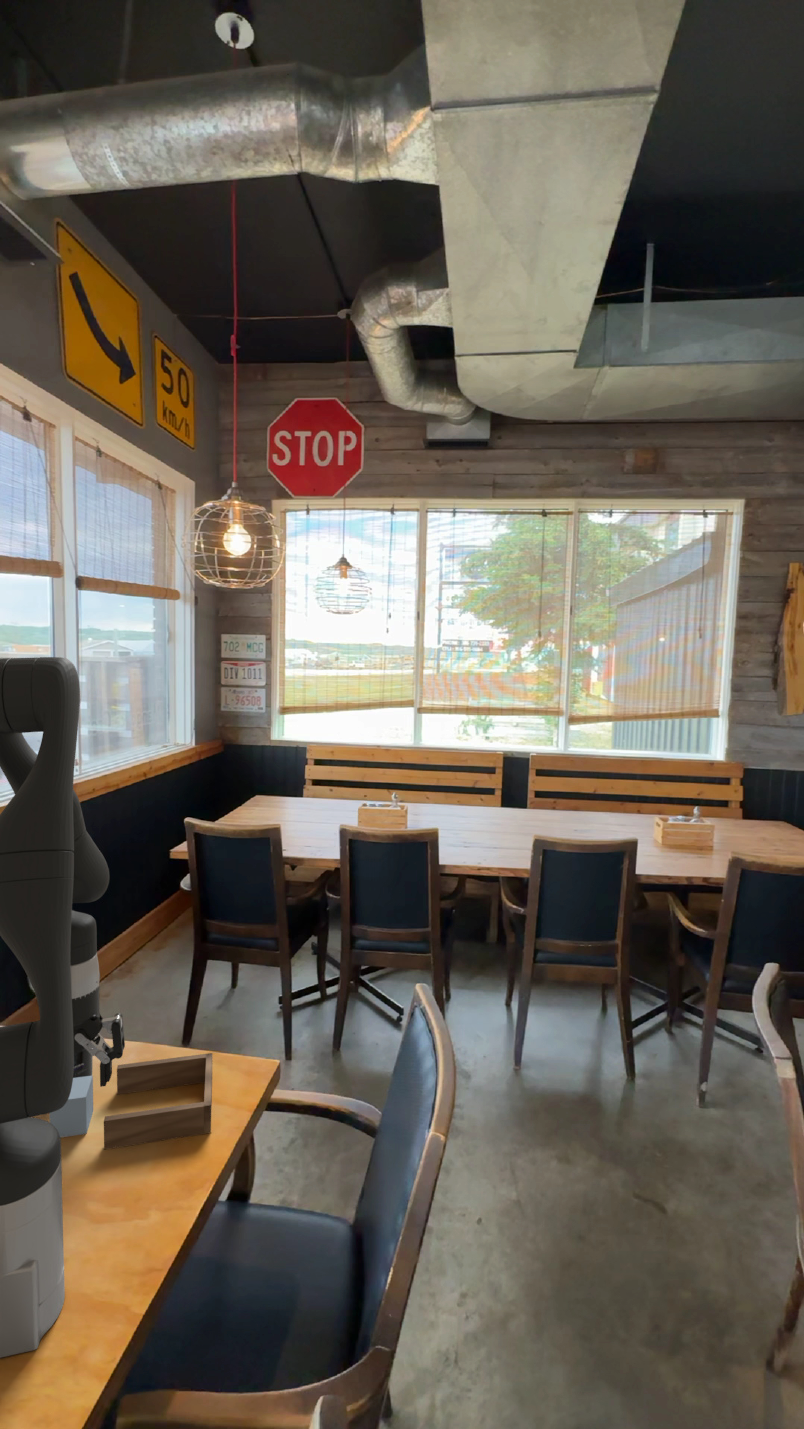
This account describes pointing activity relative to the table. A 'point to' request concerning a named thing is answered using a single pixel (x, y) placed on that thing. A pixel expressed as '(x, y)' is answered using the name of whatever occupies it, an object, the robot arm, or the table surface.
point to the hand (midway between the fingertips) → (73, 1087)
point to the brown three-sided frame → (161, 1120)
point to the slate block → (75, 1109)
